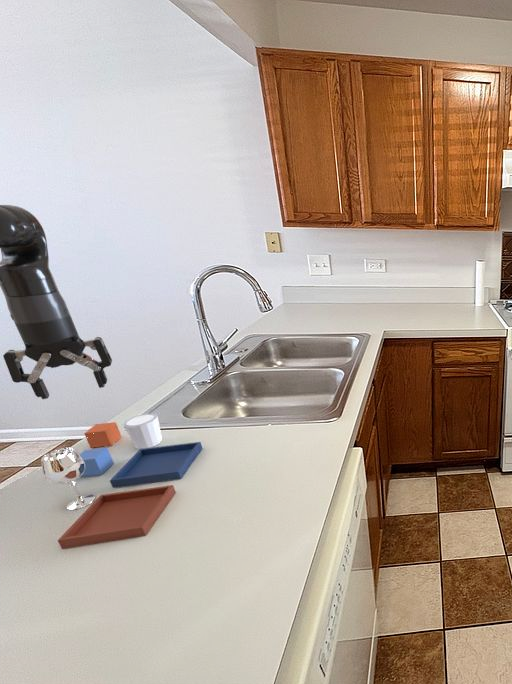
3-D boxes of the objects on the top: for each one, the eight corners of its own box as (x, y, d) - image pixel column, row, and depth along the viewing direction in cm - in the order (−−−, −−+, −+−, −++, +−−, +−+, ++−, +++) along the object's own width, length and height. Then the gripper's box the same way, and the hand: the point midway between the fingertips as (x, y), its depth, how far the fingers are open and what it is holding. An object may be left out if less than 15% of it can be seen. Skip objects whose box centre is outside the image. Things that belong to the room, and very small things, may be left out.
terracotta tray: (61, 548, 71) (57, 540, 71) (104, 502, 82) (100, 494, 82) (145, 535, 74) (142, 527, 73) (176, 492, 85) (173, 484, 84)
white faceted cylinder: (148, 452, 99) (139, 427, 96) (124, 449, 100) (115, 425, 97) (172, 437, 105) (164, 414, 103) (149, 434, 106) (141, 411, 104)
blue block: (78, 477, 90) (71, 461, 88) (91, 465, 94) (84, 449, 92) (102, 474, 91) (94, 458, 89) (113, 463, 95) (107, 447, 93)
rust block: (90, 448, 100) (83, 433, 99) (101, 438, 105) (95, 424, 103) (111, 446, 101) (105, 431, 100) (121, 436, 105) (115, 422, 104)
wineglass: (104, 498, 83) (82, 451, 79) (67, 516, 79) (42, 466, 74) (93, 489, 86) (72, 442, 82) (57, 505, 81) (32, 457, 77)
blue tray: (112, 488, 87) (109, 480, 86) (142, 455, 98) (140, 448, 97) (180, 478, 89) (178, 471, 89) (202, 448, 100) (200, 441, 100)
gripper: (94, 306, 83) (121, 377, 89) (-7, 318, 75) (30, 394, 81) (89, 314, 77) (118, 389, 83) (-20, 327, 69) (20, 409, 75)
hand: (74, 391), depth 82 cm, fingers open, 8 cm apart
